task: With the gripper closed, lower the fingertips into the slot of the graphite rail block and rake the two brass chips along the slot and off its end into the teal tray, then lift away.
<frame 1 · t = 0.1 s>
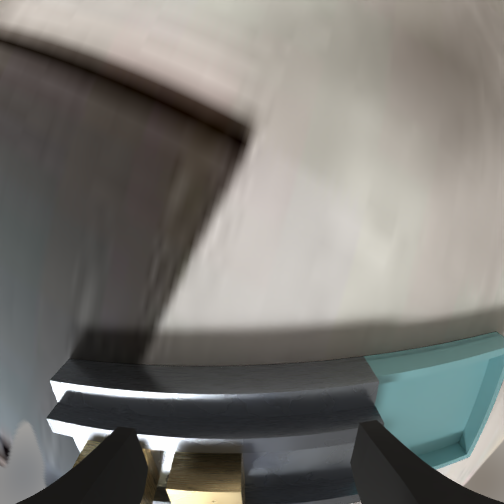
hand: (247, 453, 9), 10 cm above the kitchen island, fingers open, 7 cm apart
chip a: (126, 455, 18), point 3 cm above the kitchen island, touching slot block
chip b: (212, 462, 18), point 3 cm above the kitchen island, touching slot block
slot block: (215, 433, 21), on the kitchen island
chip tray: (422, 409, 21), on the kitchen island
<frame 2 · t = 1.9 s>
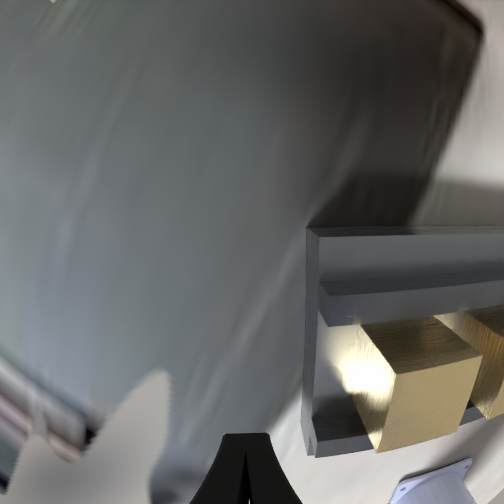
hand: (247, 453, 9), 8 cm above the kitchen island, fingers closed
chip a: (395, 360, 14), point 3 cm above the kitchen island, touching slot block
chip b: (484, 341, 14), point 3 cm above the kitchen island, touching slot block
slot block: (458, 321, 17), on the kitchen island
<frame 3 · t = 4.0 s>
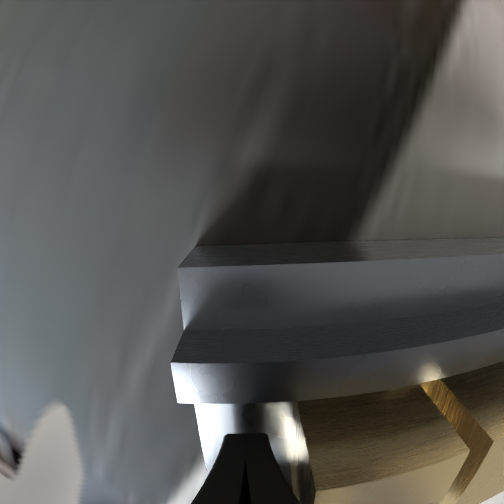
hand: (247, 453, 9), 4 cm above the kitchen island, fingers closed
chip a: (348, 427, 10), point 3 cm above the kitchen island, touching gripper, slot block
chip b: (461, 403, 10), point 3 cm above the kitchen island, touching slot block
slot block: (429, 367, 13), on the kitchen island
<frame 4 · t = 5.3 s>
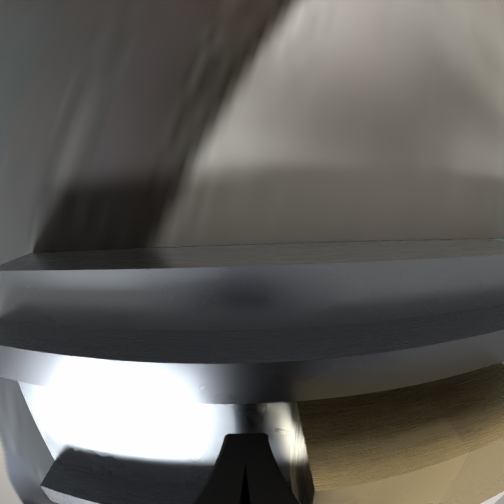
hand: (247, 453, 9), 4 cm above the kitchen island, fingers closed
chip a: (348, 427, 10), point 3 cm above the kitchen island, touching chip b, gripper
chip b: (443, 408, 10), point 3 cm above the kitchen island, touching chip a
slot block: (274, 387, 13), on the kitchen island
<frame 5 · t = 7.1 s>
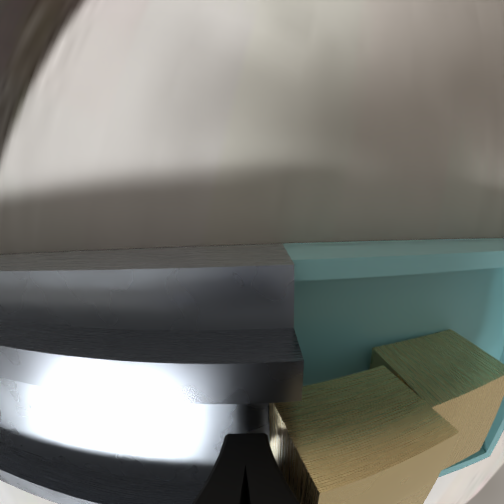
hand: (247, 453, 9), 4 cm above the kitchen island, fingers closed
chip a: (325, 424, 10), point 3 cm above the kitchen island, tilted 12°, touching chip b, gripper
chip b: (388, 419, 10), point 3 cm above the kitchen island, tilted 97°, touching chip a, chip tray
slot block: (65, 377, 13), on the kitchen island
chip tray: (412, 371, 13), on the kitchen island
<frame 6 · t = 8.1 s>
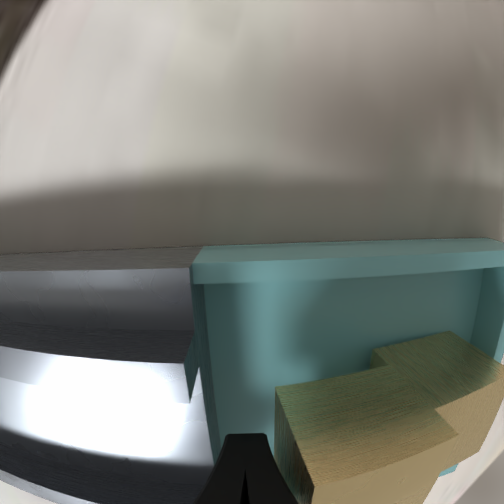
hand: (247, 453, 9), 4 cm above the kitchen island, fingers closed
chip a: (330, 421, 10), point 3 cm above the kitchen island, tilted 8°, touching chip b, gripper
chip b: (388, 421, 10), point 3 cm above the kitchen island, tilted 98°, touching chip a, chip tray
slot block: (24, 370, 13), on the kitchen island
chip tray: (357, 379, 13), on the kitchen island
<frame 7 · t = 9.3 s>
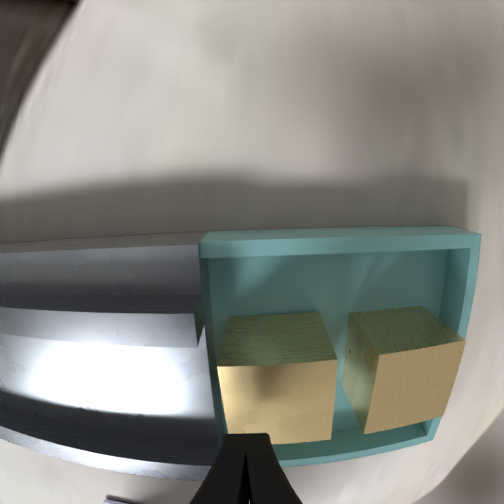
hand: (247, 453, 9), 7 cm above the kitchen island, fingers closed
chip a: (276, 353, 15), point 1 cm above the kitchen island, touching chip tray
chip b: (357, 371, 13), point 3 cm above the kitchen island, tilted 90°, touching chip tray
slot block: (47, 344, 15), on the kitchen island
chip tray: (338, 347, 15), on the kitchen island
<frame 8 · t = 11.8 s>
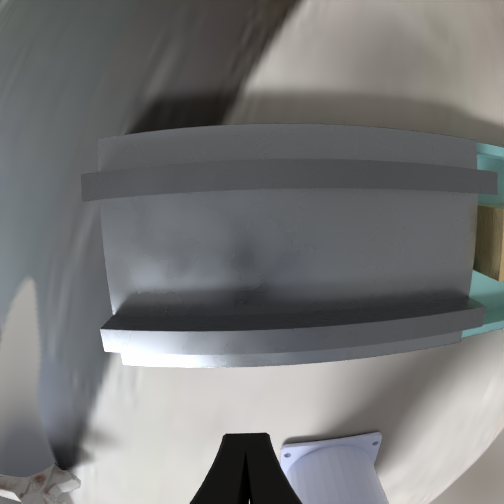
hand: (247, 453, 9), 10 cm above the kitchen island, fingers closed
wrench: (19, 470, 24), on the kitchen island
chip a: (483, 233, 17), point 1 cm above the kitchen island, touching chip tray
slot block: (299, 241, 18), on the kitchen island
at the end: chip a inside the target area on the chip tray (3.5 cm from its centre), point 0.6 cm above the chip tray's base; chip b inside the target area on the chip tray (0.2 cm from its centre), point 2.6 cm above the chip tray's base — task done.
